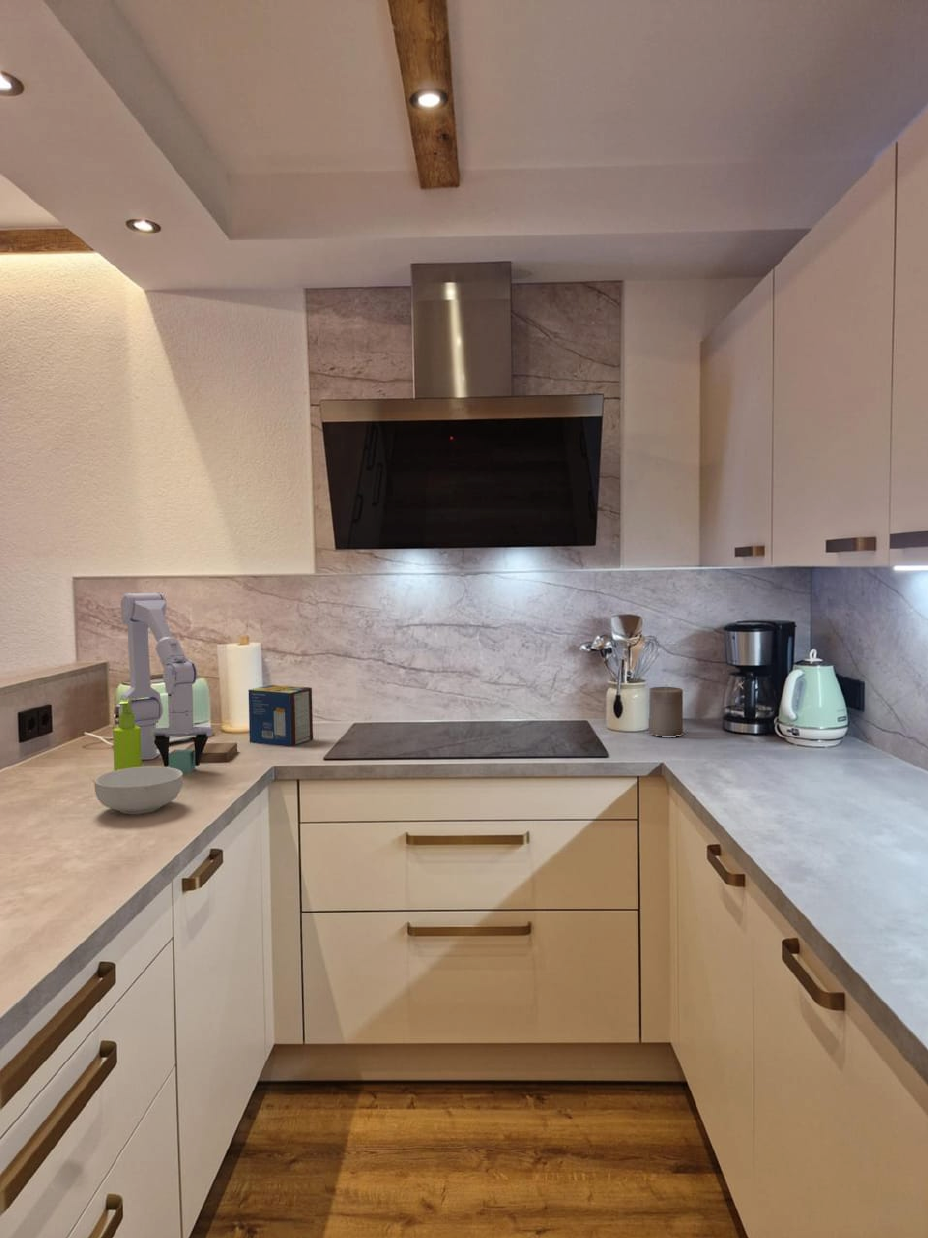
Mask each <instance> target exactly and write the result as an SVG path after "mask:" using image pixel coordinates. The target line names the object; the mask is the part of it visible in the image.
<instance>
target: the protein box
mask: <svg viewBox="0 0 928 1238" xmlns="http://www.w3.org/2000/svg"><path fill="white" fill-rule="evenodd" d="M247 691H248V722H249V723H248V725H249V727H248V728H249V729H248V730H249V731H248V732H249V735H248V736H249V743H257V744H263V745H264V744H265V745H272V746H273V745H274V746H282V747H295V746H297V745H300V744H304V743H308V742H311V741H313V740H314V727H313V726H314V725H313V724H314V723H313V722H314V720H313V719H314V718H313V688H312V687H311V686H310V687H306V686H305V687H304V686H289V685H277V684H269V685H264V686H259V687H254V688H250V689H248V690H247Z"/></svg>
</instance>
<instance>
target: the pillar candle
mask: <svg viewBox="0 0 928 1238" xmlns="http://www.w3.org/2000/svg"><path fill="white" fill-rule="evenodd" d="M648 691H649V696H648V697H649V702H648V706H649V707H648V708H649V711H648V713H649V714H648V715H649V716H648V719H649V720H648V721H649V722H648V724H649V725H648V727H649V728H648V734H649V733H650V734H652V735H658V736H676V735H681V734H683V733H684V732H683V729H684V728H683V726H684V725H683V724H684V722H683V721H684V719H683V717H684V716H683V715H684V714H683V713H684V709H683V704H684V699H683V697H684V696H683V695H684V694H683V693H684V691H683V689H682V688H680V687H674V686H673V687H672V686H668V684H666V686H654V687H650V688H649V689H648ZM650 734H649V735H650ZM652 735H651V736H652Z"/></svg>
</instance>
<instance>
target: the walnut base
mask: <svg viewBox="0 0 928 1238" xmlns="http://www.w3.org/2000/svg"><path fill="white" fill-rule="evenodd" d="M185 749H195V746H194V743H191V744H190V745H189V746H188V747H186V748H185ZM237 752H238V742H206V744H205V746H204V749H203V752H202V756H201V762H200V764H201V763H228V762H229V761H230V760H231V759H232V757H234V756H235V755H236V753H237Z"/></svg>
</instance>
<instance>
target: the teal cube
mask: <svg viewBox="0 0 928 1238" xmlns="http://www.w3.org/2000/svg"><path fill="white" fill-rule="evenodd" d="M168 767H171V768H175V769H178V770H180V771H181V772H182V773H183V775H186V774H192V773H193V772H194V771H195V770H196V766H195V749H186V748H185V749H174V750H172V751H170V752H169V766H168Z"/></svg>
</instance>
